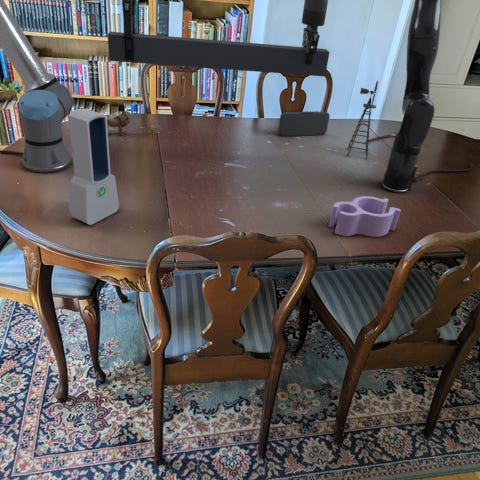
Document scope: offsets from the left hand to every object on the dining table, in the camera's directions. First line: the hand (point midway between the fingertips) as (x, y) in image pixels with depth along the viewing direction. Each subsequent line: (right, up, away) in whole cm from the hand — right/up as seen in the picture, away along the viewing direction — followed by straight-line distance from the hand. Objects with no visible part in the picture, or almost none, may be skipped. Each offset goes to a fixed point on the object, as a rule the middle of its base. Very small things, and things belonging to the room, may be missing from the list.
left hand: (130, 57), depth 155 cm
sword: (+104, -14, +59) cm, 120 cm away
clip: (+74, -57, -12) cm, 94 cm away
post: (+30, -2, +4) cm, 30 cm away
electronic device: (-5, -53, -20) cm, 57 cm away
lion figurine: (-14, -18, +33) cm, 40 cm away
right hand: (+59, 0, +6) cm, 60 cm away
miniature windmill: (+85, -25, +39) cm, 97 cm away
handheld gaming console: (+64, -14, +53) cm, 84 cm away
